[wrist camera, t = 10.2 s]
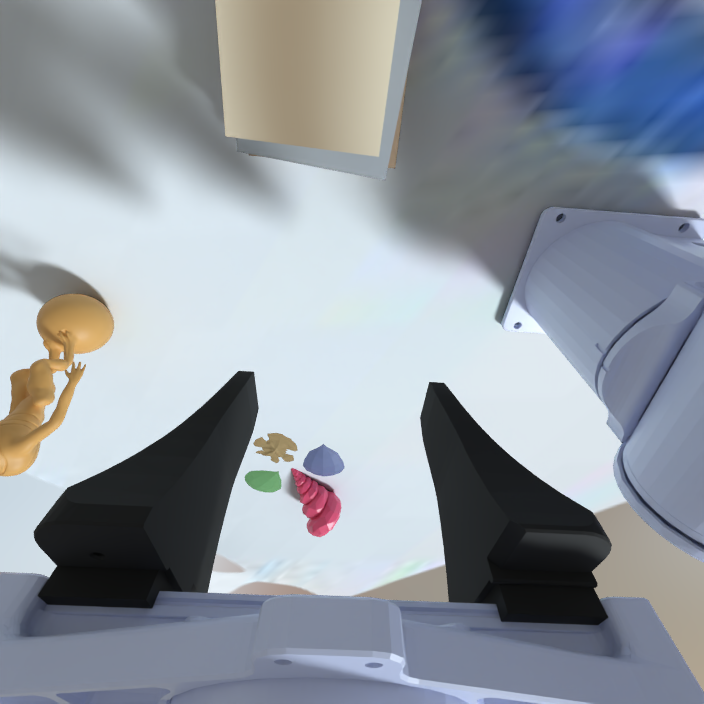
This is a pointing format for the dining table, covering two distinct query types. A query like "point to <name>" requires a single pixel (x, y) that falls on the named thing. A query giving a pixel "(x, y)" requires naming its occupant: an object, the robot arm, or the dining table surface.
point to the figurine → (50, 376)
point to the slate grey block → (373, 164)
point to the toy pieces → (302, 481)
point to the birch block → (307, 71)
